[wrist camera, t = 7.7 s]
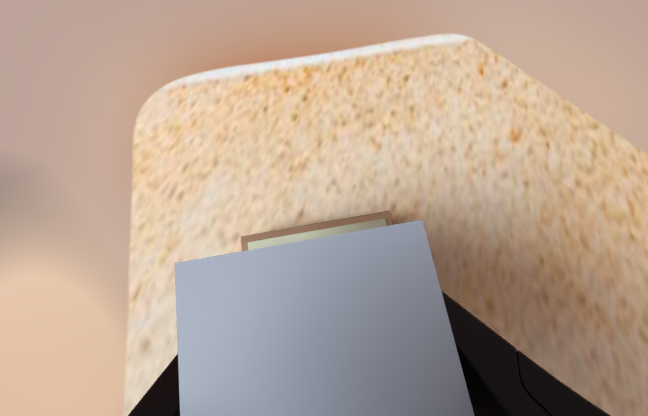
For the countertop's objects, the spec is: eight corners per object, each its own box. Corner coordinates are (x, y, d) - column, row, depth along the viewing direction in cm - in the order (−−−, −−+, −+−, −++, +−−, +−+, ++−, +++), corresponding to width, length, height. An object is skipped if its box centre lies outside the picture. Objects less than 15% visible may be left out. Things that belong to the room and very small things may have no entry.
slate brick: (386, 350, 14) (505, 532, 4) (287, 368, 14) (186, 590, 4) (365, 251, 15) (422, 219, 6) (275, 267, 15) (174, 263, 6)
